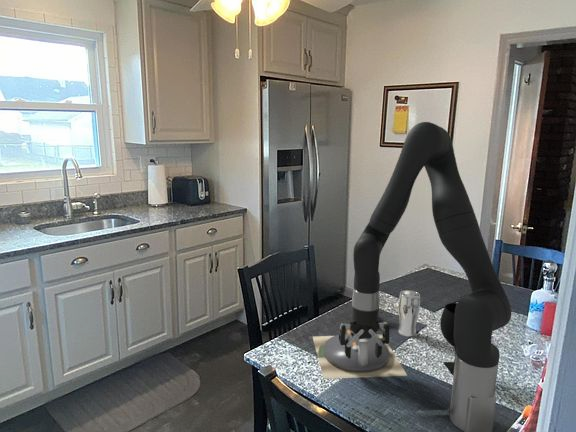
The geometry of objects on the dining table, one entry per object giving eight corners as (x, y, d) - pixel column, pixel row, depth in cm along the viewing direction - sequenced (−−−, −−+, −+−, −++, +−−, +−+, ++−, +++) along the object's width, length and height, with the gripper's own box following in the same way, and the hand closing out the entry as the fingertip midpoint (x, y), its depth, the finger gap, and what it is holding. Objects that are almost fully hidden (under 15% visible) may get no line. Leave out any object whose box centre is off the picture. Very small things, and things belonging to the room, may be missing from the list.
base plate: (407, 378, 118) (407, 375, 117) (323, 382, 116) (323, 378, 116) (382, 337, 141) (382, 333, 141) (312, 339, 139) (312, 336, 139)
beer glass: (418, 340, 139) (421, 299, 136) (397, 338, 140) (399, 297, 137) (416, 331, 145) (419, 290, 142) (396, 329, 147) (398, 289, 144)
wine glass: (443, 359, 128) (449, 298, 124) (478, 371, 121) (486, 308, 117) (430, 374, 120) (436, 310, 116) (468, 388, 114) (475, 321, 109)
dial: (398, 370, 119) (400, 344, 117) (329, 373, 118) (330, 346, 116) (377, 334, 140) (378, 311, 138) (318, 336, 139) (319, 312, 137)
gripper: (343, 310, 112) (341, 364, 115) (394, 309, 113) (391, 362, 117) (337, 299, 119) (336, 350, 123) (386, 298, 120) (383, 348, 124)
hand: (363, 356), depth 120 cm, fingers open, 8 cm apart
